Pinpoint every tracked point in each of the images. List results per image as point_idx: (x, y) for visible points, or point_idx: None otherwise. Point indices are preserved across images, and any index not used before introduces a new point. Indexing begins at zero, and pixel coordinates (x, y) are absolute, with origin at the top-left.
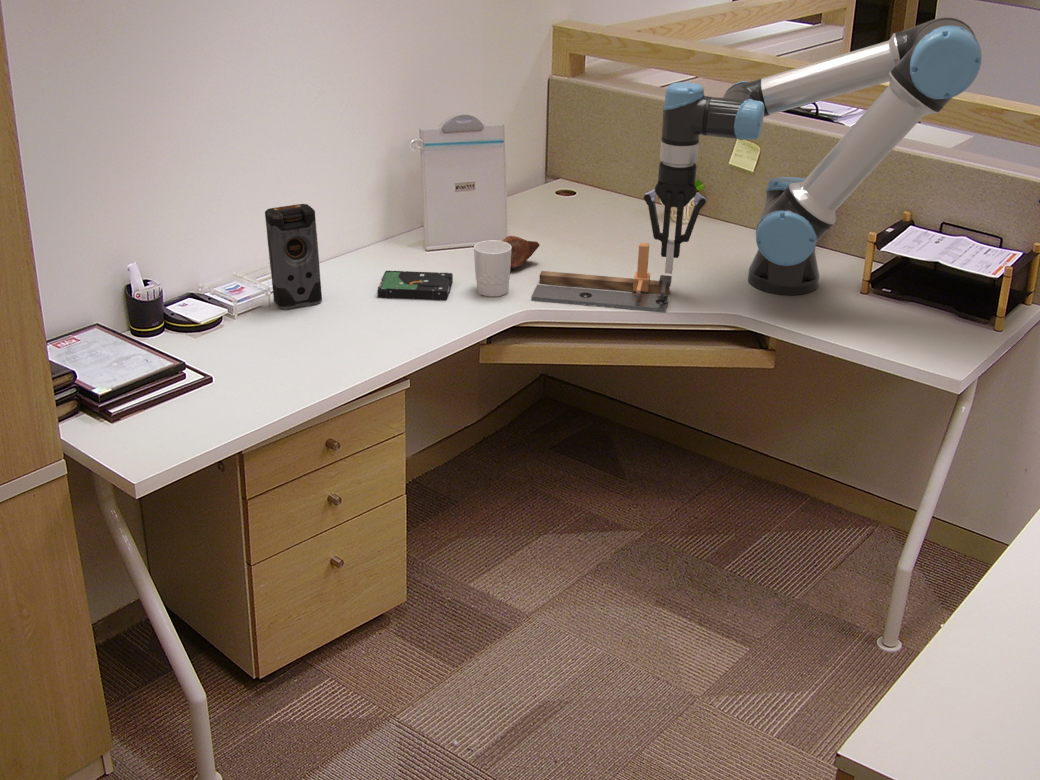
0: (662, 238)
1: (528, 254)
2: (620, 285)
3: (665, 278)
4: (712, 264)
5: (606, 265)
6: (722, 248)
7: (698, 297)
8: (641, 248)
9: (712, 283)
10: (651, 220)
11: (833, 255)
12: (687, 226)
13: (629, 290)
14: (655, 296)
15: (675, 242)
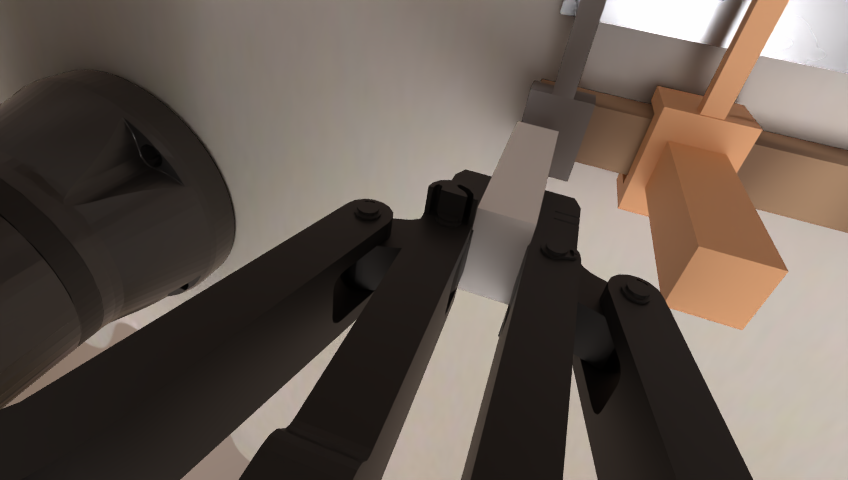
0: (576, 268)
1: None
2: (813, 150)
3: None
4: (344, 332)
5: (739, 395)
6: None
7: (404, 46)
8: (757, 252)
9: (344, 192)
10: (735, 465)
11: None
12: (317, 309)
13: None
14: (636, 4)
15: (464, 220)
